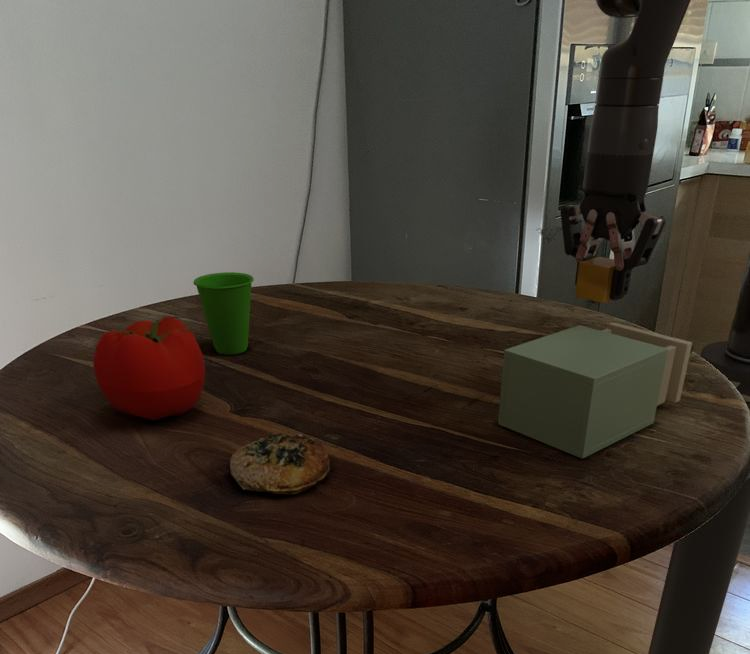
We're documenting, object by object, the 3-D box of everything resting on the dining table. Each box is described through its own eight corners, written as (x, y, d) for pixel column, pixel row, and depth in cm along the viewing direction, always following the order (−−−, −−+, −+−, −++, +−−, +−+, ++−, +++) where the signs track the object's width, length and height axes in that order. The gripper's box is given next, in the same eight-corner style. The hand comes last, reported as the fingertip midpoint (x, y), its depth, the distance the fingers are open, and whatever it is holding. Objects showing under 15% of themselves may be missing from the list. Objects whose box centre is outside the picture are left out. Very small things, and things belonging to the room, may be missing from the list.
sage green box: (570, 394, 99) (579, 324, 94) (653, 423, 91) (668, 348, 86) (497, 424, 91) (503, 349, 86) (582, 459, 83) (594, 378, 78)
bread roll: (334, 448, 85) (330, 411, 82) (327, 508, 76) (323, 469, 73) (240, 451, 86) (232, 414, 83) (222, 511, 77) (213, 473, 74)
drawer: (630, 366, 106) (639, 313, 102) (704, 388, 98) (717, 331, 94) (543, 402, 95) (549, 343, 91) (619, 430, 87) (630, 367, 83)
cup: (270, 350, 116) (264, 279, 111) (219, 363, 111) (210, 290, 106) (242, 336, 122) (235, 269, 117) (192, 348, 118) (182, 278, 112)
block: (595, 290, 97) (600, 256, 95) (624, 297, 94) (629, 262, 92) (574, 296, 95) (579, 261, 93) (603, 303, 92) (608, 267, 90)
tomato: (152, 442, 88) (135, 347, 82) (82, 414, 95) (62, 325, 89) (234, 406, 97) (224, 318, 91) (164, 383, 104) (151, 301, 98)
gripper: (694, 150, 83) (665, 301, 92) (589, 143, 93) (572, 280, 101) (656, 155, 79) (630, 312, 88) (551, 147, 89) (537, 289, 97)
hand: (599, 294), depth 95 cm, fingers closed on block, 4 cm apart
